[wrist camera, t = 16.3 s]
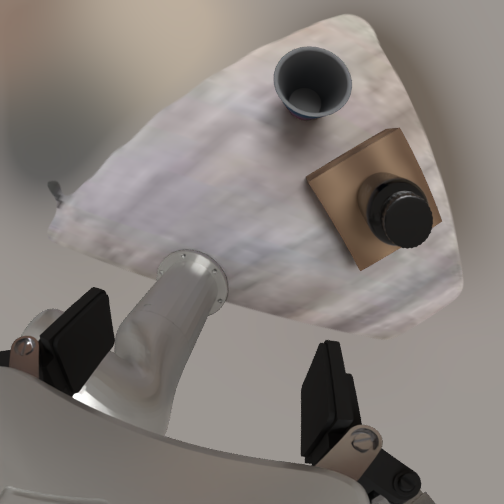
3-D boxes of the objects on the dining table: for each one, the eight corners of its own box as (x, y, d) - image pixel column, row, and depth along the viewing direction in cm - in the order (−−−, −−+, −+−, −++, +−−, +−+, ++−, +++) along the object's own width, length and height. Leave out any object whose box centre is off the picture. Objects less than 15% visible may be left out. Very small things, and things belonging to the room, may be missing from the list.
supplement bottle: (379, 235, 33) (400, 275, 22) (345, 195, 33) (354, 218, 22) (418, 201, 30) (455, 227, 19) (384, 159, 30) (412, 165, 19)
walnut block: (352, 254, 41) (360, 271, 36) (305, 176, 38) (308, 182, 33) (424, 210, 37) (442, 221, 31) (384, 129, 34) (399, 127, 28)
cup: (338, 115, 34) (365, 101, 20) (294, 134, 36) (296, 129, 22) (315, 73, 32) (328, 36, 18) (271, 92, 34) (259, 64, 20)
